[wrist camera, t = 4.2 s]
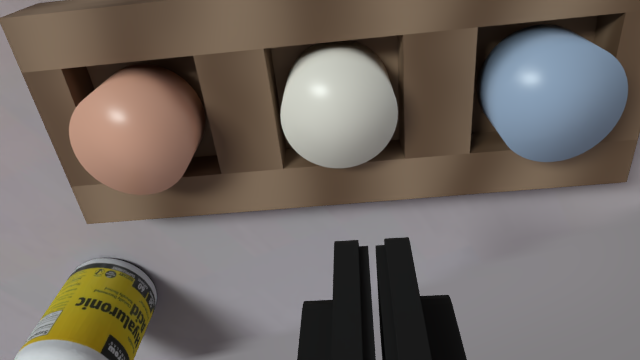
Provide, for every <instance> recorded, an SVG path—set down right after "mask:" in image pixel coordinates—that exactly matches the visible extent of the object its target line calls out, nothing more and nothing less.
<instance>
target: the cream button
mask: <svg viewBox="0 0 640 360" xmlns="http://www.w3.org/2000/svg"><path fill="white" fill-rule="evenodd" d="M280 116H281V125H282V129H283V132H284V134H285V137H286V139H287V140H288V142H289V144H290V145H291V146H292V148H293V149H294V150H295V151H296V152H297V153H298V154H299V155H301V156H302V157H303V158H305V159H306V160H308V161H310V162H312V163H314V164H317V165H320V166H323V167H328V168H349V167H353V166H357V165H360V164H363V163H365V162H367V161H369V160H371V159H372V158H374V157H375V156H377V155H378V154H379V153H380V152H381V151H382V150H383V149H384V148H385V147H386V146H387V144H388V143H389V141H390V140H391V138H392V136H393V134H394V131H395V129H396V125H397V120H398V107H397V102H396V98H395V95H394V91H393V88H392V85H391V82H390V79H389V76H388V73H387V71H386V68H385V66H384V65H383V63H382V61H381V60H380V59H379V57H378V56H377V55H376V54H375V53H374V52H373V51H372V50H370V49H369V48H367V47H366V46H364V45H362V44H360V43H357V42H355V41H351V40H345V41H335V42H325V43H317V44H315V45H313V46H311V47H310V48H308V49H307V50H305V51H304V52H303V53H302V54H301V55H300V56H299V57H298V58H297V59H296V61H295V62H294V63H293V65H292V67H291V69H290V71H289V74H288V77H287V82H286V86H285V91H284V95H283V100H282V105H281V114H280Z"/></svg>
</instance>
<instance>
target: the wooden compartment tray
mask: <svg viewBox="0 0 640 360" xmlns="http://www.w3.org/2000/svg"><path fill="white" fill-rule="evenodd" d="M0 24H1V26H2V28H3V30H4V33H5V35H6V37H7V40H8V42H9V44H10V47H11V49H12V51H13V54H14V56H15V58H16V61H17V63H18V65H19V68H20V70H21V72H22V74H23V77H24V79H25V81H26V84H27V86H28V88H29V91H30V93H31V95H32V98H33V100H34V102H35V105H36V107H37V109H38V111H39V114H40V116H41V118H42V121H43V123H44V125H45V128H46V130H47V132H48V135H49V137H50V139H51V142H52V144H53V146H54V148H55V151H56V153H57V155H58V158H59V160H60V162H61V165H62V167H63V169H64V172H65V174H66V176H67V179H68V181H69V183H70V185H71V188H72V190H73V192H74V195H75V197H76V199H77V202H78V204H79V206H80V209H81V211H82V213H83V216H84V218H85V220H86V222H87V224H93V223H106V222H119V221H132V220H145V219H158V218H170V217H183V216H196V215H209V214H222V213H235V212H248V211H260V210H273V209H286V208H299V207H312V206H325V205H338V204H351V203H363V202H376V201H389V200H402V199H415V198H428V197H441V196H453V195H466V194H479V193H492V192H505V191H518V190H531V189H543V188H556V187H569V186H582V185H595V184H608V183H621V182H627V178H628V175H629V171H630V167H631V163H632V159H633V155H634V152H635V148H636V144H637V140H638V136H639V132H640V0H65V1H56V2H46V3H38V4H35V5H32V6H30V7H27V8H25V9H22V10H19V11H17V12H14V13H12V14H9V15H6V16H4V17H1V18H0ZM540 24H551V25H558V26H562V27H564V28H567V29H569V30H571V31H572V32H574V33H576V34H578V35H579V36H581V37H583V38H585V39H587V40H588V41H590V42H592V43H594V44H595V45H597V46H599V47H601V48H602V49H604V50H606V51H607V52H609V53H610V54H612V55H613V56H614V57H615V58H616V59H617V60H618V61H619V62H620V64H621V65H622V67H623V69H624V71H625V74H626V77H627V82H628V96H627V102H626V105H625V108H624V111H623V113H622V115H621V117H620V119H619V121H618V122H617V124H616V125H615V127H614V128H613V129H612V131H611V132H610V133H609V134H608V135H607V136H606V137H605V138H604V139H603V140H602V141H600V142H599V143H598V144H597V145H595V146H594V147H593V148H591V149H589V150H588V151H586V152H584V153H582V154H580V155H578V156H575V157H572V158H570V159H566V160H562V161H556V162H538V161H533V160H529V159H526V158H523V157H521V156H520V155H518V154H516V153H515V152H513V151H512V150H511V149H510V148H509V147H508V146H507V145H506V143H505V142H504V140H503V139H502V138H501V136H500V135H499V133H498V132H497V131H496V129H495V128H494V126H493V125H492V123H491V122H490V121H489V119H488V118H487V116H486V115H485V114H484V112H483V111H482V109H481V107H480V105H479V101H478V97H477V81H478V76H479V72H480V70H481V67H482V65H483V63H484V61H485V60H486V58H487V56H488V55H489V54H490V52H491V51H492V50H493V49H494V48H495V47H496V46H497V45H498V44H499V43H500V42H501V41H502V40H503V39H505V38H506V37H508V36H509V35H511V34H513V33H514V32H516V31H518V30H521V29H523V28H526V27H529V26H533V25H540ZM345 40H351V41H355V42H357V43H360V44H362V45H364V46H366V47H367V48H369V49H370V50H372V51H373V52H374V53H375V54H376V55H377V56H378V57H379V59H380V60H381V61H382V63H383V65H384V66H385V68H386V71H387V73H388V76H389V79H390V82H391V85H392V88H393V91H394V95H395V98H396V102H397V107H398V120H397V125H396V129H395V131H394V134H393V136H392V138H391V140H390V141H389V143H388V144H387V146H386V147H385V148H384V149H383V150H382V151H381V152H380V153H379V154H378V155H377V156H375V157H374V158H372V159H371V160H369V161H367V162H365V163H363V164H360V165H357V166H353V167H349V168H328V167H323V166H320V165H317V164H314V163H312V162H310V161H308V160H306V159H305V158H303V157H302V156H301V155H299V154H298V153H297V152H296V151H295V150H294V149H293V148H292V146H291V145H290V144H289V142H288V140H287V139H286V137H285V134H284V132H283V129H282V125H281V116H280V114H281V105H282V100H283V95H284V91H285V86H286V82H287V77H288V74H289V71H290V69H291V67H292V65H293V63H294V62H295V61H296V59H297V58H298V57H299V56H300V55H301V54H302V53H303V52H304V51H305V50H307V49H308V48H310V47H311V46H313V45H315V44H317V43H325V42H335V41H345ZM137 64H149V65H155V66H160V67H162V68H165V69H168V70H170V71H172V72H174V73H175V74H177V75H179V76H180V77H181V78H183V79H184V80H185V81H186V82H187V83H188V84H189V85H190V86H191V87H192V88H193V89H194V91H195V92H196V93H197V95H198V97H199V98H200V100H201V103H202V105H203V108H204V112H205V118H206V125H205V131H204V135H203V137H202V139H201V142H200V144H199V146H198V147H197V149H196V151H195V153H194V155H193V157H192V159H191V161H190V163H189V165H188V167H187V169H186V171H185V173H184V174H183V176H182V177H181V179H180V180H179V181H178V182H177V183H176V184H174V185H173V186H172V187H170V188H168V189H167V190H164V191H162V192H159V193H155V194H149V195H134V194H128V193H123V192H120V191H117V190H114V189H112V188H110V187H108V186H106V185H104V184H102V183H101V182H99V181H98V180H96V179H95V178H94V177H93V176H92V175H90V174H89V173H88V172H87V171H86V170H85V168H84V167H83V166H82V165H81V164H80V162H79V160H78V159H77V157H76V155H75V153H74V151H73V149H72V146H71V143H70V138H69V124H70V120H71V116H72V114H73V112H74V110H75V108H76V107H77V106H78V104H79V103H80V102H81V101H82V100H83V99H84V98H86V97H87V96H88V95H89V94H90V93H92V92H93V91H94V90H95V89H96V88H97V87H99V86H100V85H101V84H102V83H103V82H105V81H106V80H107V79H108V78H109V77H110V76H112V75H113V74H114V73H115V72H117V71H118V70H120V69H122V68H124V67H128V66H131V65H137Z"/></svg>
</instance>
